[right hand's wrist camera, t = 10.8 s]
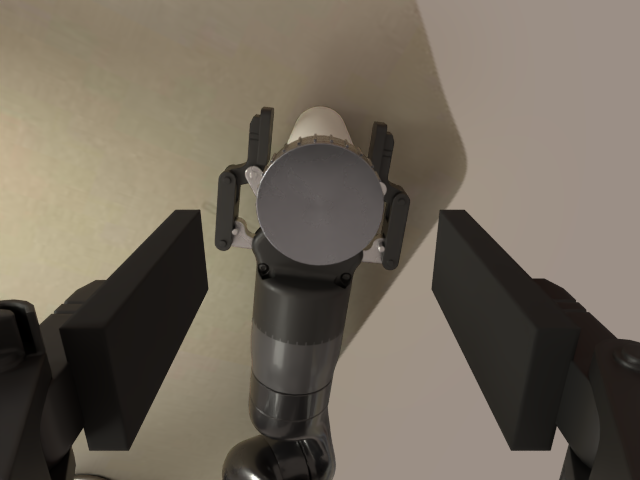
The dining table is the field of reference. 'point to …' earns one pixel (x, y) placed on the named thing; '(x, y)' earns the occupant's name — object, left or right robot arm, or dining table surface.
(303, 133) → the white stepped cylinder
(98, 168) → the dining table surface
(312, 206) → the lid
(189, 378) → the dining table surface
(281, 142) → the dining table surface
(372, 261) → the left robot arm
